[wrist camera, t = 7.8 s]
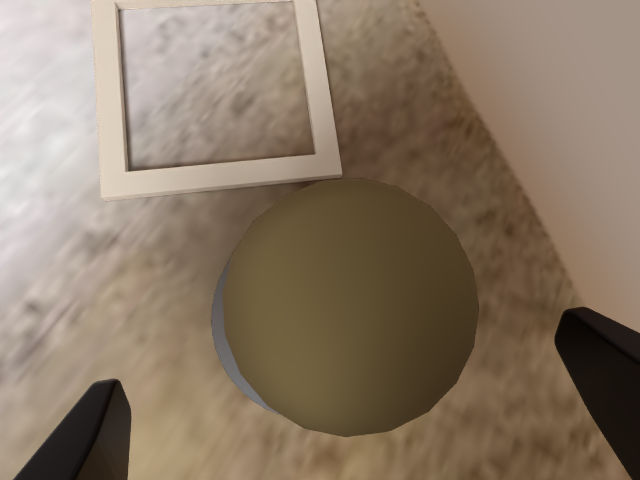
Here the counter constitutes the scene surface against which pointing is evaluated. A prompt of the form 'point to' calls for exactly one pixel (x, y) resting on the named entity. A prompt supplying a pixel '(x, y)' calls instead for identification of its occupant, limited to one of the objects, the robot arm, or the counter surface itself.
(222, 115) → the counter surface
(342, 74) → the counter surface
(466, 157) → the counter surface
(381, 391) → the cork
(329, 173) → the white square frame
